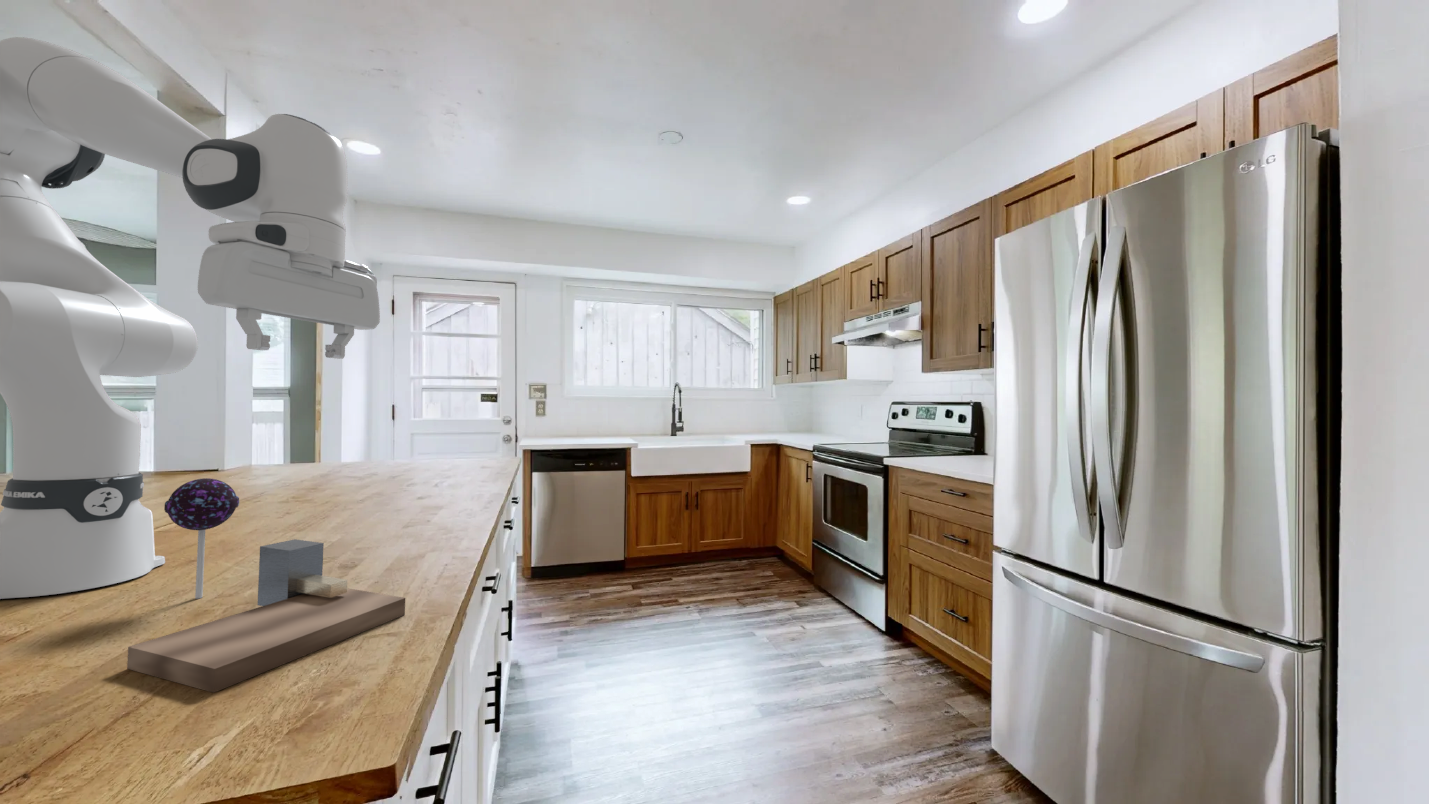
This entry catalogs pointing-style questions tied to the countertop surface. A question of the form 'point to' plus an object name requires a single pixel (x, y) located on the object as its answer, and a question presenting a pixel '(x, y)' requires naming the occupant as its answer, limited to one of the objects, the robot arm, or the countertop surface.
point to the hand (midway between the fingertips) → (298, 354)
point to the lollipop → (201, 513)
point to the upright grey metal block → (294, 572)
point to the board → (261, 638)
